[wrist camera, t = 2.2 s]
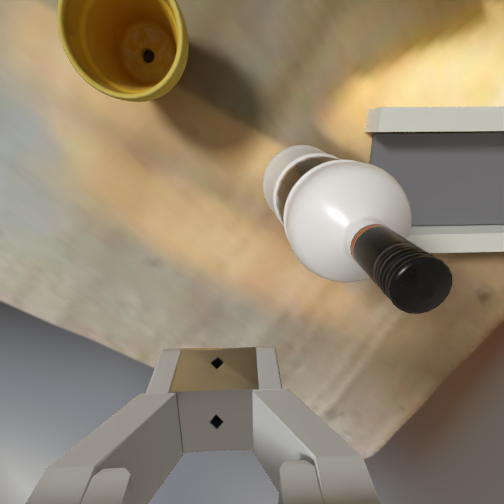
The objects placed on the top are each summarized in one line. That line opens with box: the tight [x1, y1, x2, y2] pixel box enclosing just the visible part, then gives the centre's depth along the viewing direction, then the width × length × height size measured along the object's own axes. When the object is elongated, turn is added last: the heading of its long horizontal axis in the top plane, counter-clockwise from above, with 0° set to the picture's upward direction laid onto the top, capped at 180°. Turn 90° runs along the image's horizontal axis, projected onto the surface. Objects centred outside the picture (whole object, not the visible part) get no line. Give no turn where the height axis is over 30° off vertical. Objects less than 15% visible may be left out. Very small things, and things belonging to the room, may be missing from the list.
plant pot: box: [57, 0, 189, 102], centre depth 31 cm, size 10×10×10 cm
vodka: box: [262, 145, 452, 314], centre depth 27 cm, size 9×9×30 cm
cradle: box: [365, 107, 504, 253], centre depth 39 cm, size 17×30×5 cm, turn 90°
